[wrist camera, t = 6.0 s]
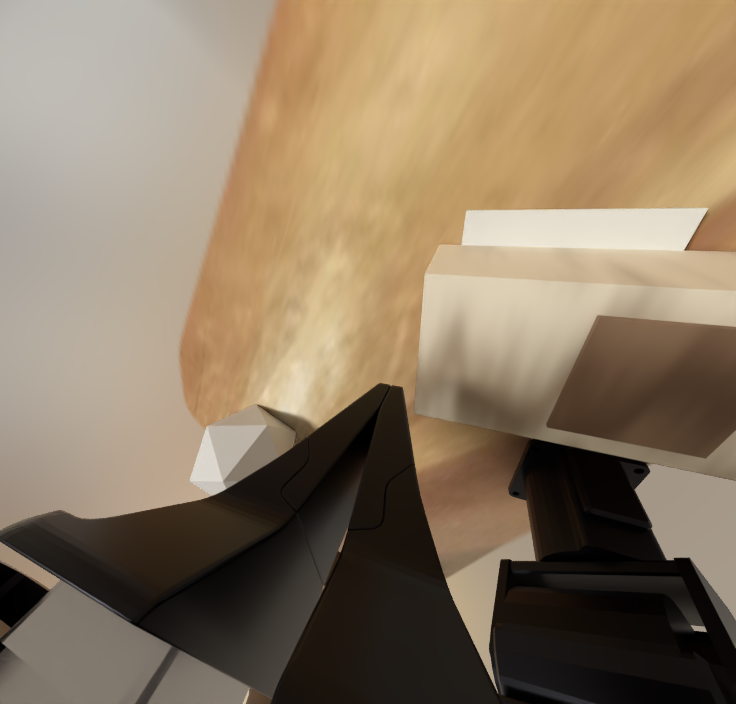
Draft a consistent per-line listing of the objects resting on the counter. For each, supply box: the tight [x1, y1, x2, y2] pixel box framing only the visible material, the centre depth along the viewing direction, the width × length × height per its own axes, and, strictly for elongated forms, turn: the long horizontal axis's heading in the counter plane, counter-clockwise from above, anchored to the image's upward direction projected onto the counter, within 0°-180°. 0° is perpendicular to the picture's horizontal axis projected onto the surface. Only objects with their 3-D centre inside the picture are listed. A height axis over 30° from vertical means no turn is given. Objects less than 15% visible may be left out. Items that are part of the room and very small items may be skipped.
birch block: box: [414, 245, 736, 481], centre depth 12 cm, size 7×5×12 cm
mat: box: [462, 207, 708, 251], centre depth 14 cm, size 10×8×1 cm
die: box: [190, 404, 296, 496], centre depth 25 cm, size 8×9×10 cm
